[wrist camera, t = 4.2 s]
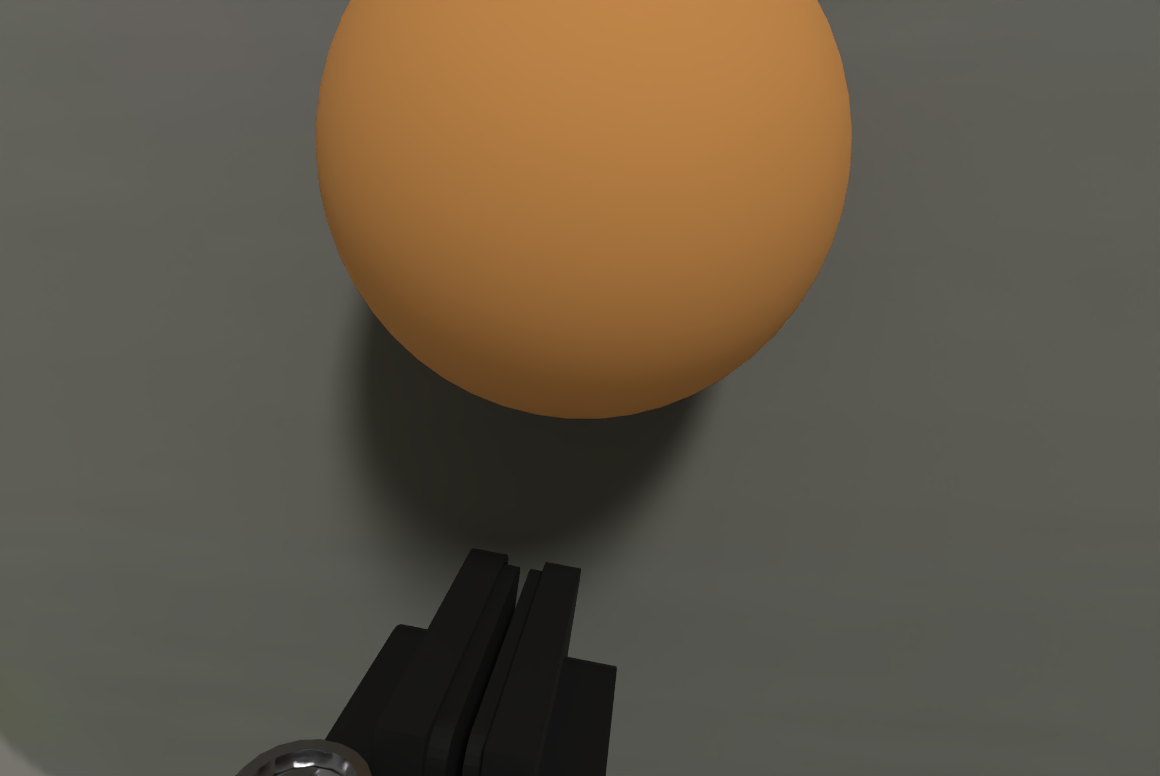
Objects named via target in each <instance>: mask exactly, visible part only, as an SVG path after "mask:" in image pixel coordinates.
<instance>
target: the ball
mask: <svg viewBox="0 0 1160 776" xmlns="http://www.w3.org/2000/svg"><path fill="white" fill-rule="evenodd" d="M851 142H852V130H851V116H850V102H849V94H848V89H847V84H846V79H845V74H844V70H843V65H842V60H841V57H840V54H839V51H838V48H837V45H836V42H835V40H834V37H833V34H832V31H831V28H830V25H829V23H828V20H827V19H826V17H825V15H824V13H823V11H822V9H821V7H820V5H819V3H818V1H817V0H351V1H350V3H349V4H348V6H347V8H346V10H345V12H344V13H343V16H342V18H341V21H340V23H339V26H338V28H337V31H336V33H335V36H334V39H333V41H332V44H331V46H330V49H329V53H328V57H327V61H326V65H325V69H324V72H323V76H322V80H321V85H320V93H319V100H318V108H317V116H316V160H317V169H318V178H319V187H320V192H321V197H322V201H323V205H324V209H325V214H326V218H327V222H328V225H329V228H330V231H331V233H332V236H333V239H334V242H335V244H336V247H337V250H338V253H339V255H340V257H341V259H342V261H343V263H344V265H345V267H346V269H347V271H348V273H349V275H350V277H351V279H352V281H353V283H354V285H355V286H356V288H357V289H358V291H359V292H360V294H361V296H362V297H363V299H364V300H365V302H366V303H367V305H368V306H369V308H370V309H371V311H372V312H373V313H374V315H375V316H376V317H377V318H378V319H379V320H380V322H381V323H382V324H383V325H384V326H385V327H386V329H387V330H388V331H389V332H390V333H391V335H392V336H393V337H394V338H395V339H396V340H397V341H398V342H399V343H400V344H402V345H403V346H404V347H405V348H406V349H407V350H408V351H409V352H410V353H411V354H412V355H413V356H415V357H416V358H417V359H418V360H419V361H421V362H422V363H423V364H425V365H426V366H427V367H429V368H430V369H432V370H433V371H434V372H436V373H437V374H439V375H440V376H441V377H443V378H444V379H446V380H448V381H450V382H451V383H453V384H455V385H457V386H459V387H461V388H462V389H464V390H466V391H468V392H470V393H471V394H474V395H476V396H479V397H481V398H484V399H486V400H489V401H491V402H494V403H496V404H499V405H501V406H505V407H509V408H513V409H516V410H520V411H524V412H528V413H532V414H536V415H543V416H551V417H558V418H566V419H602V418H610V417H618V416H626V415H633V414H636V413H640V412H644V411H648V410H652V409H656V408H660V407H663V406H666V405H669V404H671V403H674V402H676V401H679V400H681V399H684V398H686V397H689V396H691V395H694V394H695V393H697V392H699V391H701V390H703V389H705V388H706V387H708V386H710V385H712V384H714V383H715V382H717V381H719V380H721V379H723V378H724V377H725V376H727V375H728V374H729V373H731V372H732V371H734V370H735V369H736V368H738V367H739V366H740V365H742V364H743V363H745V362H746V361H747V360H749V359H750V358H751V357H752V356H753V355H754V354H755V353H756V352H757V351H758V350H760V349H761V348H762V347H763V346H764V345H765V344H766V343H767V342H768V341H769V340H770V339H771V338H772V337H773V336H774V335H775V334H776V333H777V332H778V331H779V329H780V328H781V327H782V326H783V325H784V323H785V322H786V321H787V320H788V319H789V317H790V316H791V315H792V314H793V312H794V311H795V310H796V309H797V307H798V306H799V304H800V303H801V301H802V299H803V298H804V296H805V295H806V293H807V292H808V290H809V288H810V287H811V285H812V284H813V282H814V281H815V279H816V277H817V275H818V273H819V271H820V269H821V266H822V264H823V262H824V260H825V258H826V256H827V254H828V252H829V249H830V247H831V245H832V242H833V239H834V236H835V233H836V230H837V227H838V223H839V220H840V217H841V214H842V211H843V206H844V201H845V196H846V190H847V185H848V180H849V174H850V160H851Z"/></svg>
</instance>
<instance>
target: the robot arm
mask: <svg viewBox="0 0 1160 776" xmlns="http://www.w3.org/2000/svg"><path fill="white" fill-rule="evenodd" d="M519 574H520V567H517V566H512V565H508V555H505V554H500V553H495V552H489V551H484V550H479V549H472V550H471V551H470V553H469V554H468V556H467V558H466V560H465V562H464V563H463V565H462V567H461V569H460V571H459V573H458V574H457V576H456V578H455V580H454V582H453V584H452V585H451V587H450V589H449V591H448V593H447V595H446V596H445V598H444V600H443V602H442V604H441V606H440V607H439V609H438V611H437V613H436V615H435V616H434V618H433V620H432V622H431V624H430V626H429V627H428V629H423V628H418V627H412V626H407V625H402V624H400V625H397V626H396V628H395V629H394V630H393V631H392V633H391V635H390V636H389V638H388V639H387V641H386V643H385V644H384V646H383V647H382V649H381V651H380V652H379V654H378V655H377V657H376V659H375V660H374V662H373V663H372V665H371V667H370V668H369V670H368V671H367V673H366V675H365V676H364V678H363V679H362V681H361V683H360V684H359V686H358V687H357V689H356V691H355V692H354V694H353V695H352V697H351V699H350V700H349V702H348V703H347V705H346V707H345V708H344V710H343V711H342V713H341V715H340V716H339V718H338V719H337V721H336V723H335V724H334V726H333V728H332V729H331V731H330V732H329V734H328V736H327V737H326V739H325V740H322V739H316V740H298V741H294V742H290V743H286V744H282V745H279V746H276V747H274V748H272V749H270V750H268V751H266V752H264V753H262V754H260V755H258V756H257V757H256V758H255V759H253V760H252V761H251V762H250V763H248V764H247V765H246V766H245V767H243V768H242V769H241V770H240V772H239V773H238V774H237V775H236V776H606V766H607V757H608V747H609V738H610V728H611V719H612V710H613V700H614V691H615V681H616V671H617V667H616V666H611V665H606V664H601V663H596V662H591V661H586V660H581V659H576V658H571V657H567V655H568V649H569V643H570V636H571V630H572V624H573V618H574V612H575V606H576V599H577V593H578V587H579V581H580V574H581V569H580V568H575V567H569V566H564V565H559V564H553V563H548V562H546V563H545V566H544V569H543V571H538V570H533V569H530V571H529V573H528V576H527V579H526V581H525V584H524V587H523V590H522V592H521V595H520V598H519V601H518V603H517V606H516V609H515V604H516V596H517V589H518V582H519ZM514 611H515V612H514Z"/></svg>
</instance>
